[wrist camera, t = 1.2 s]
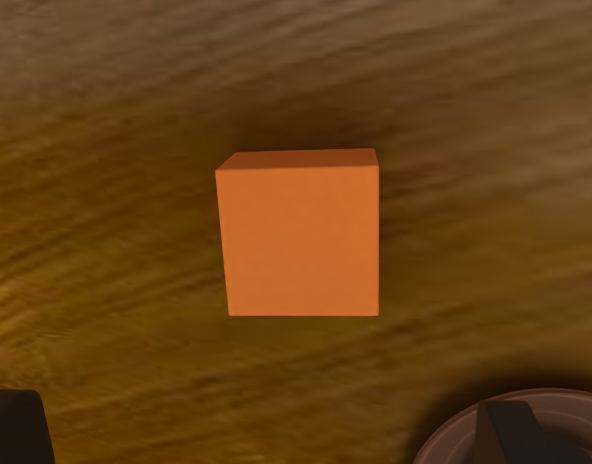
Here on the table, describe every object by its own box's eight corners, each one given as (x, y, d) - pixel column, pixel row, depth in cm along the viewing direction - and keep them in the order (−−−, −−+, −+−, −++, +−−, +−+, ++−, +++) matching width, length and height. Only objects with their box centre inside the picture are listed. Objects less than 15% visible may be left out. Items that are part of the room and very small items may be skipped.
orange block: (234, 151, 22) (214, 169, 18) (374, 147, 21) (379, 165, 18) (245, 279, 23) (228, 316, 20) (374, 278, 23) (378, 316, 20)
